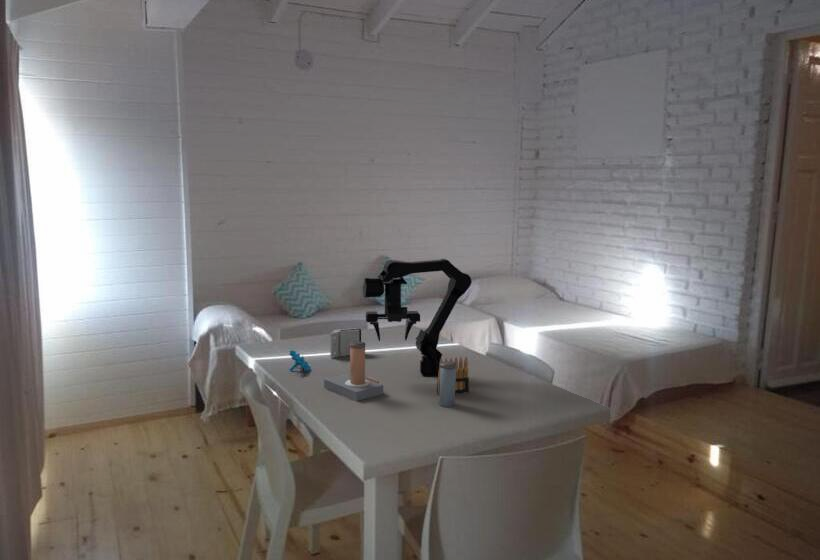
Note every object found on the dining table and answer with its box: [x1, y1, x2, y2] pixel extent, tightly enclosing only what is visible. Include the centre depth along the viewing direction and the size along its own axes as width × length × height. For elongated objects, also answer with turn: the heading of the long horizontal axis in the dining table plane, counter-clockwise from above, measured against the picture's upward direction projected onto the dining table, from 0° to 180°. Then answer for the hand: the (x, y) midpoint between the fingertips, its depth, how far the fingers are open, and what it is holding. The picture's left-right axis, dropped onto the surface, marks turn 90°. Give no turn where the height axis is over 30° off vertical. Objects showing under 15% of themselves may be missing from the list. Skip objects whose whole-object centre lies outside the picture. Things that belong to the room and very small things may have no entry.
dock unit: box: [323, 372, 384, 402], centre depth 219 cm, size 12×18×4 cm, turn 42°
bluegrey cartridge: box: [438, 361, 457, 408], centre depth 206 cm, size 5×5×13 cm
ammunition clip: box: [436, 356, 470, 396], centre depth 218 cm, size 11×2×12 cm, turn 110°
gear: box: [289, 349, 311, 372], centre depth 242 cm, size 11×6×10 cm
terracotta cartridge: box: [349, 341, 366, 385], centre depth 216 cm, size 5×5×13 cm
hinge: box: [329, 327, 362, 359], centre depth 263 cm, size 14×5×10 cm, turn 123°
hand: (392, 340), depth 234 cm, fingers open, 9 cm apart
